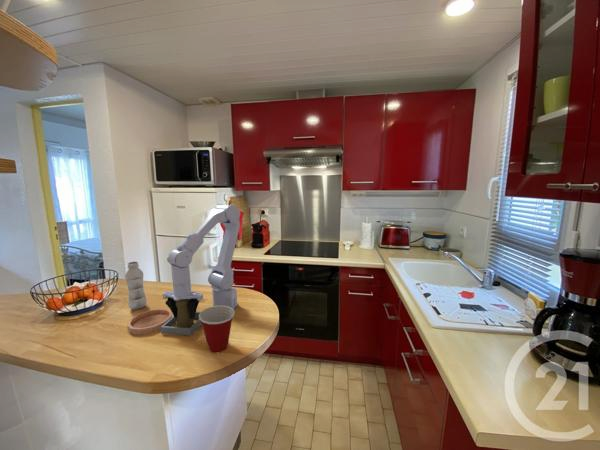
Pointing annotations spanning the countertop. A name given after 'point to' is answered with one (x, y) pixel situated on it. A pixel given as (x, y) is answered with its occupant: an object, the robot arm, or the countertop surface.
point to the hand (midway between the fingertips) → (184, 317)
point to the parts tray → (179, 330)
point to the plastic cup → (217, 326)
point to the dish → (149, 321)
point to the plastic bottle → (135, 286)
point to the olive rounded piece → (183, 314)
